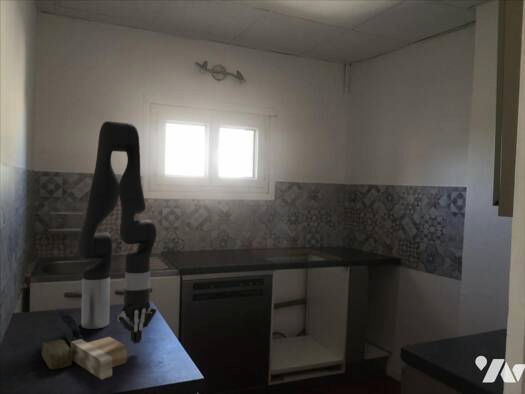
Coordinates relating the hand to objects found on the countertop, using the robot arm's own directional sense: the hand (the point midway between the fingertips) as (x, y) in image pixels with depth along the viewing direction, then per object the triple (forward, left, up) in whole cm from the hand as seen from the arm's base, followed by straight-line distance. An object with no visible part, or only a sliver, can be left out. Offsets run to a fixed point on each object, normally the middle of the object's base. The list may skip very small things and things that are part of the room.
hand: (136, 342), depth 123 cm
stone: (-20, -11, -3) cm, 23 cm away
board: (0, -14, -3) cm, 15 cm away
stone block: (-10, -19, -3) cm, 22 cm away
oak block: (-1, -9, -3) cm, 10 cm away
